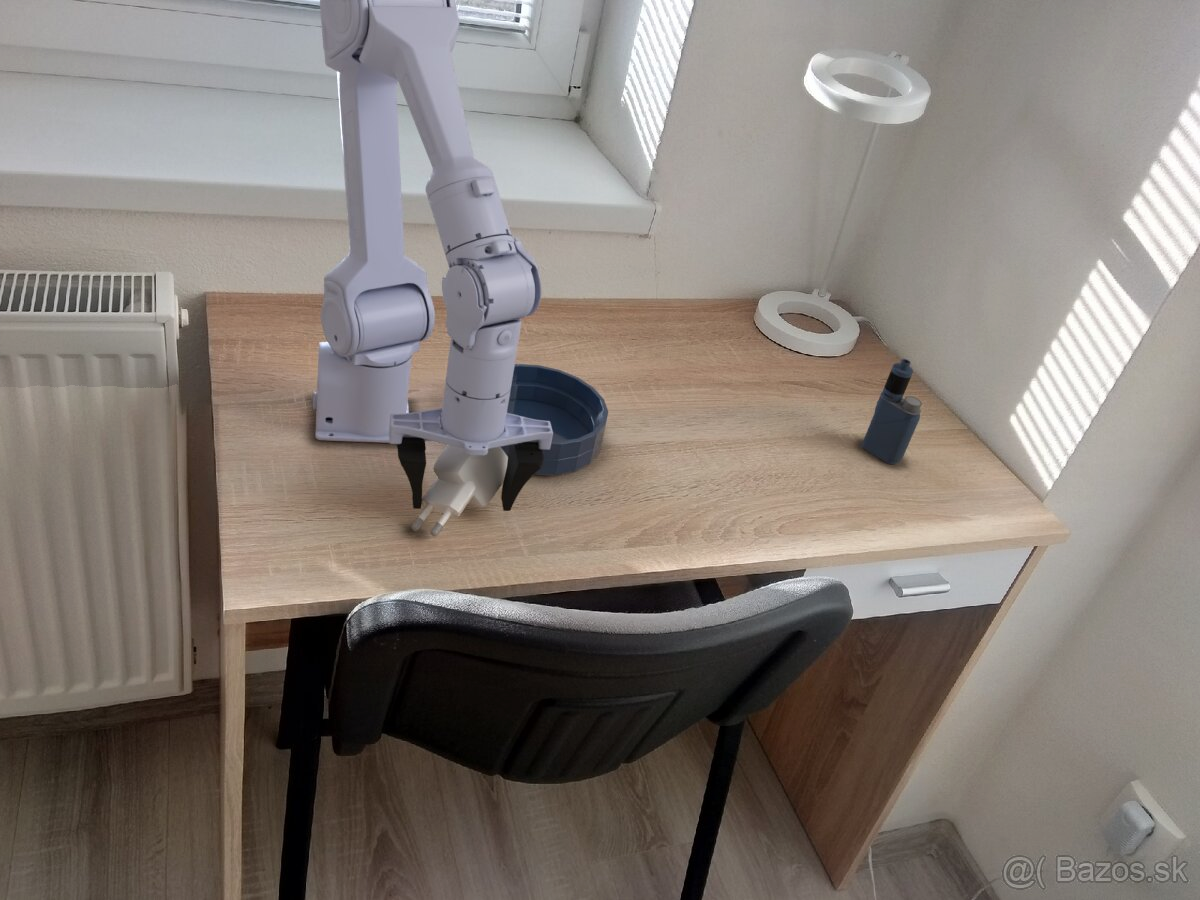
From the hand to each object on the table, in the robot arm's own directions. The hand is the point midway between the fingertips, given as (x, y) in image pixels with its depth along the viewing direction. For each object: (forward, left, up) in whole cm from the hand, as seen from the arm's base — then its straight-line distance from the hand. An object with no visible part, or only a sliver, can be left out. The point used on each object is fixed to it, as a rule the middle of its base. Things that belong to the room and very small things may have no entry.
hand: (461, 503), depth 99 cm
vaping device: (+51, +13, -2) cm, 53 cm away
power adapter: (+1, +1, -1) cm, 2 cm away
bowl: (+9, +14, -2) cm, 16 cm away
